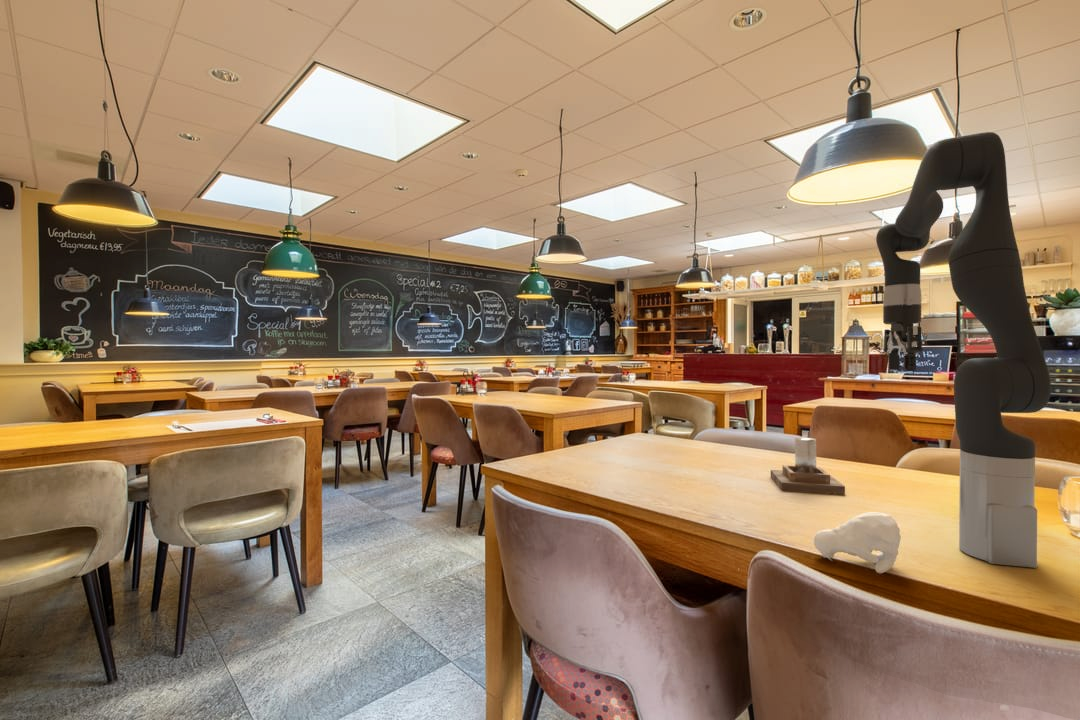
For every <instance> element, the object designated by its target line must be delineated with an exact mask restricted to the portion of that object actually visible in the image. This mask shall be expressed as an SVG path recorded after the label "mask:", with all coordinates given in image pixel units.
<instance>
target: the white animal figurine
mask: <svg viewBox="0 0 1080 720" xmlns="http://www.w3.org/2000/svg"><path fill="white" fill-rule="evenodd" d="M900 532H901V530H900V528H899V526H898V523H897V522H896V520H895V519H894V518H893V517H892V516H891V515H889V514H888V513H882V512H880V511H879V512H878V511H877V512H876V511H868V512H863V513H861V514H860V513H859V515H857V516H853V517H851V518H849V519H848V520H847V521H846V522H843V523H841V524H840V525H839V526H837V527H834V528H832V529H823V530H819V531H817V532H815V534H814V537H813V544H814V547H815V549H816V550H817V551H818V552H819V553H820V554H821V556H822V557H823V559H825V558H826V559H828V560H830V561H833V560H834V559H833V558H834V557H835V554H837V553H844V554H848V555H850V556H855V557H859V559H862V560H864V561H866V562H868V563H870V564H875V572H876V573H877V574H884V573H885V572H887V571H888V570H890V569H891V568H892V567H893V566H894V565H895V562H897V561H896V560H897V557H898V556H899V547H900V543H901V539H902V536H901V533H900ZM873 551H876V552H878V553H876V554H873ZM879 552H880V553H879ZM832 559H833V560H832Z"/></svg>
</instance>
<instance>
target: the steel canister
mask: <svg viewBox="0 0 1080 720" xmlns="http://www.w3.org/2000/svg"><path fill="white" fill-rule="evenodd" d="M794 452H795V453H794V454H795V456H794V459H795V461H794V463H795V464H794V466H795V472H800V473H816V467H817V439H816V438H813V437H801V436H800V437H794Z"/></svg>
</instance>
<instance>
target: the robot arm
mask: <svg viewBox="0 0 1080 720" xmlns="http://www.w3.org/2000/svg"><path fill="white" fill-rule="evenodd" d="M971 187H972V188H974V191H975V205H974V209H973V211H972V212H971V214H970V217H969V219H968V220H967V222H966V224H965V226H963V228H962V230H961V231H960V233H959V234H958V236H957V237H956V238H955V240H954V242H953V244H952V245H951V247H950V250H949V253H948V257H947V258H948V268H949V275H950V280H951V281H950V282H951V285H952V290H953V292H954V293H955V296H956V297H957V299H959V301H960V303H962V305H963V306H964V307H965V308H966V309H967V310H968V311H969V313H971V314H972V315H973V316H974V317H975V318H976V319H977V320H978V321H979V323H980V324H981V325H982V326H983V327H984V328H985V329H986V331H987V333H988V334H989V335H990V338H991V340H992V342H993V346H994V349H995V353H996V357H976V358H975V357H974V358H970V359H966V360H964V361H963V362H962V363H961V364H960V365H959V366H958V367H957V369H956V372H955V375H954V380H953V398H954V399H953V400H954V413H955V430H956V434H957V436H958V440H959V494H958V495H959V499H958V500H959V508H958V509H959V511H958V512H959V513H958V514H959V515H958V520H959V522H958V526H959V528H958V529H959V530H958V531H959V532H958V535H959V536H958V538H959V539H958V540H959V541H958V544H959V545H958V548H959V550H960V551H962V552H963V553H965V554H967V555H968V556H970V557H971V556H972V557H974V558H976V559H979V560H982V561H985V562H987V563H989V564H991V565H992V564H993V565H1001V566H1002V565H1003V566H1011V567H1012V566H1013V567H1022V568H1023V567H1024V568H1032V569H1033V568H1035V569H1036V568H1038V565H1037V564H1038V563H1037V562H1038V561H1037V560H1038V509H1037V508H1036V507H1035V494H1036V493H1035V489H1036V488H1035V486H1036V485H1035V484H1036V483H1035V482H1036V481H1035V479H1036V478H1035V477H1036V475H1035V474H1036V444H1035V441H1034V440H1033V439H1032V438H1031V437H1028V436H1025V435H1021V434H1018V433H1015V432H1013V431H1012V430H1010V429H1008V428H1007V427H1006V426H1005V425H1004V423H1003V419H1002V414H1032V413H1038V412H1040V411H1041V410H1043V409H1044V408H1045V407H1046V406H1047V405H1048V403H1049V401H1050V398H1051V396H1052V395H1051V394H1052V383H1051V376H1050V372H1049V367H1048V365H1047V362H1046V359H1045V355H1044V353H1043V350H1042V347H1041V343H1040V341H1039V338H1038V335H1037V332H1036V329H1035V326H1034V323H1033V318H1032V315H1031V311H1030V306H1029V302H1028V297H1027V292H1026V288H1025V283H1024V275H1023V268H1022V263H1021V262H1022V261H1021V257H1020V252H1019V251H1020V250H1019V248H1018V244H1017V240H1016V236H1015V231H1014V226H1013V219H1012V215H1011V210H1010V203H1009V193H1008V191H1009V190H1008V177H1007V163H1006V153H1005V147H1004V144H1003V141H1002V138H1001V137H1000V135H998V134H997V133H996V132H991V131H987V132H979V133H971V134H967V135H962V136H961V135H960V136H954V137H948V138H944V139H941V140H937V141H935V142H934V143H932V144H931V145H929V147H928V148H927V150H926V151H925V153H924V155H923V157H922V159H921V161H920V164H919V167H918V170H917V172H916V175H915V178H914V181H913V184H912V186H911V190H910V194H909V197H908V199H907V201H906V203H905V204H904V206H903V208H902V209H901V210H900V212H899V213H898V215H897V217H896V219H895V222H894V223H886V224H884V225H882V226H881V227H880V228H879V230H878V231H877V233H876V237H875V239H876V240H875V241H876V246H877V248H878V251H879V254H880V257H881V260H882V264H883V265H882V266H883V268H884V290H883V299H882V300H883V303H882V304H883V307H882V309H883V310H882V311H883V312H882V313H883V314H882V315H883V316H882V320H883V324H885V325H890V328H889V329H888V328H886V329H884V333H883V335H884V337H883V338H884V339H883V352H884V353H886V355H887V356H888V359H887V360H888V361H887V362H888V365H887V368H888V370H891V371H892V370H893V371H897V370H898V371H899V370H900V354H901V350H902V352H903V370H904V371H905V372H914V371H916V369H917V355H918V354H919V353H921V352H922V350H923V347H922V346H923V344H922V342H923V341H922V338H923V337H922V326H916V325H915V326H914V324H920V323H921V322H922V290H921V265H920V263H919V261H917V260H916V261H915V260H909V259H905V258H904V259H903V258H901V257H900V256H899V255H898V254H897V253H905V252H906V253H907V252H916V251H920V250H922V249H924V248H926V247H927V245H928V244H929V242H930V236H931V229H932V227H933V226H934V224H935V223H936V222H937V220H938V219H939V218H940V216H941V215H942V213H943V210H944V201H943V198H942V196H941V194H939V192H937V191H949V190H956V189H964V188H971Z"/></svg>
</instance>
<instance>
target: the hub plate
mask: <svg viewBox="0 0 1080 720" xmlns="http://www.w3.org/2000/svg"><path fill="white" fill-rule="evenodd" d="M770 478H771V479H772V480H774V481H773V482H774V483H775V485H777V487H778V486H779V487H778V488H779V489H780V490H781V491H783V492H784V491H786V492H799V493H812V492H814V493H813V494H827V493H836V494H835V495H842V494H845V495H846V486H845V485H844V484H843V483H842V482H840V481H838V480H837V479H835V477H833V476H832V475H831V474H829V473H828V472H827V471H825V470H824V469H822V468H821V466H816V473H800V472H795V465H790V464H789V465H788V464H786V465H785V464H782V470H781V469H780V470H779V469H770Z"/></svg>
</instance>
